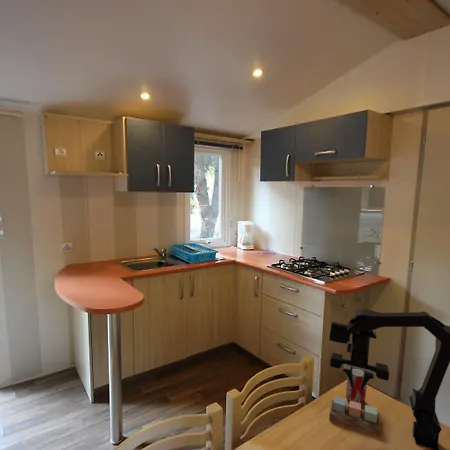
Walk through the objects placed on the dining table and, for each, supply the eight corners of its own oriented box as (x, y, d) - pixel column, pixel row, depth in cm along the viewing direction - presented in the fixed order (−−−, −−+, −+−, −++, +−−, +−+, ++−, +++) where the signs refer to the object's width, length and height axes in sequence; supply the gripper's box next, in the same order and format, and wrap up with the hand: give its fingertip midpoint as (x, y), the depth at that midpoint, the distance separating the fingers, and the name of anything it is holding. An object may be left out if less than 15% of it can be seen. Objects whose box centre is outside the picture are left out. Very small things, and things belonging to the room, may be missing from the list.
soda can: (362, 409, 119) (365, 379, 117) (343, 401, 123) (345, 372, 122) (367, 399, 124) (369, 371, 123) (348, 392, 129) (350, 364, 127)
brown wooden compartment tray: (378, 419, 114) (379, 413, 113) (379, 435, 106) (379, 428, 106) (331, 405, 120) (332, 399, 120) (329, 419, 113) (329, 413, 113)
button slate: (345, 406, 116) (345, 399, 116) (344, 413, 113) (345, 405, 112) (334, 403, 118) (334, 396, 117) (333, 410, 114) (333, 402, 114)
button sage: (376, 416, 112) (377, 408, 112) (376, 423, 108) (377, 415, 108) (364, 412, 113) (365, 404, 113) (364, 419, 110) (365, 411, 110)
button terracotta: (360, 411, 114) (361, 403, 114) (360, 418, 111) (360, 410, 110) (349, 408, 116) (349, 400, 115) (348, 414, 112) (349, 406, 112)
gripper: (389, 342, 114) (385, 383, 115) (334, 331, 121) (331, 369, 123) (390, 357, 104) (386, 401, 105) (331, 344, 111) (328, 385, 113)
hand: (356, 388), depth 112 cm, fingers open, 3 cm apart
